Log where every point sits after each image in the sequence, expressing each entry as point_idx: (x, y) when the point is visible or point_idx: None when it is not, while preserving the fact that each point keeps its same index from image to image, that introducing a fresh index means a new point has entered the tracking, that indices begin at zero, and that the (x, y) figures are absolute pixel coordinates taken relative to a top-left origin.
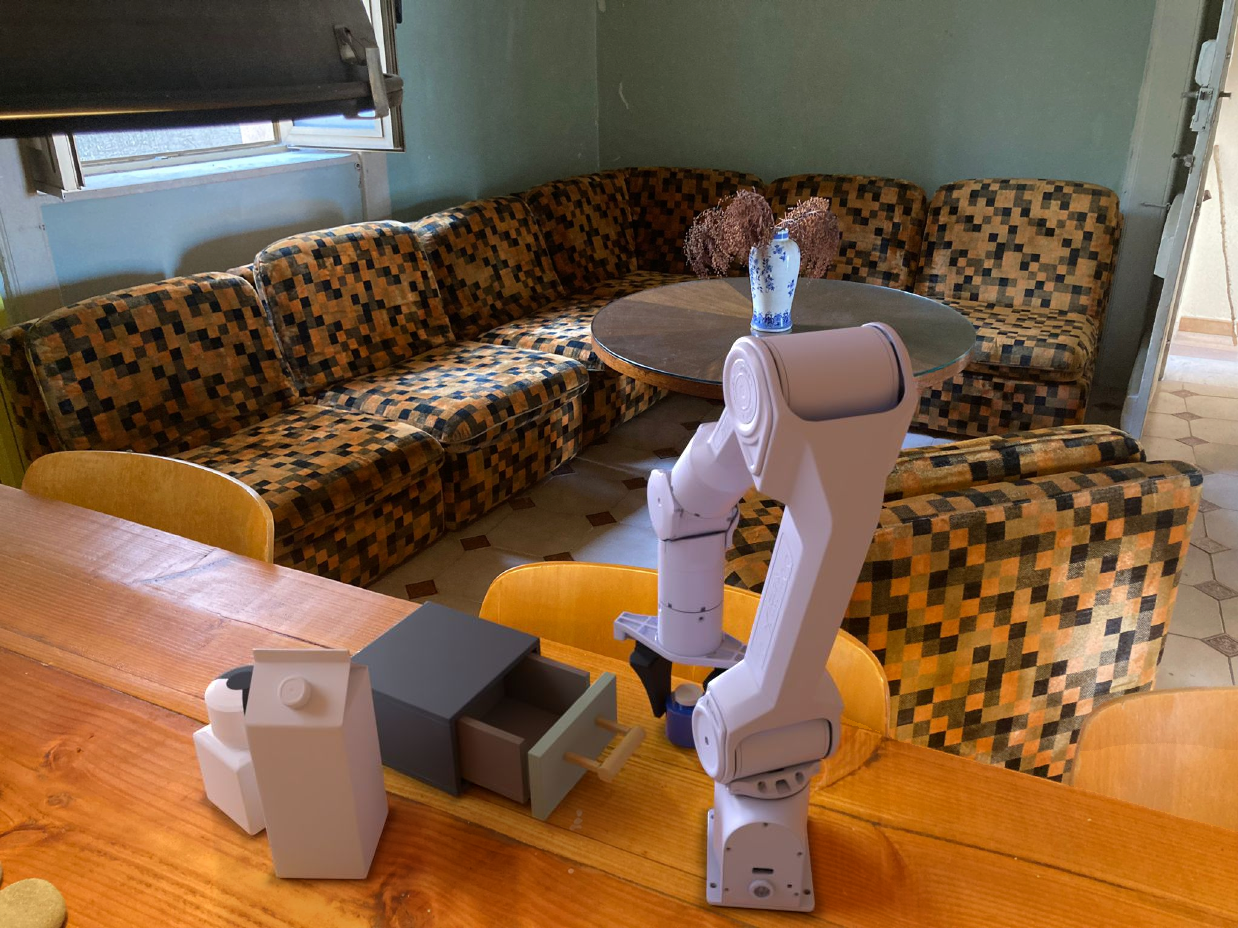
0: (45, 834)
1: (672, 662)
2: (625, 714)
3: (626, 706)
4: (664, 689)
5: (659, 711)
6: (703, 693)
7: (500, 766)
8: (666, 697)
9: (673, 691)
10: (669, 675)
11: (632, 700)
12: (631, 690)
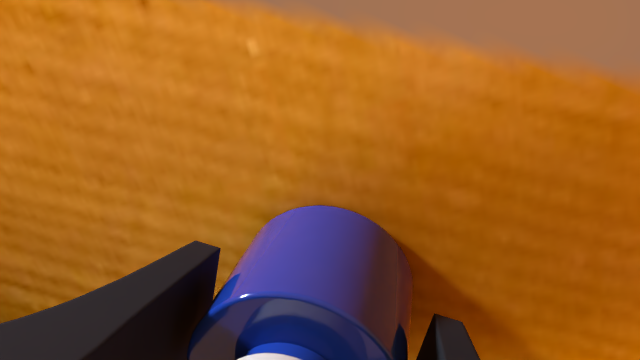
0: None
1: (88, 356)
2: (94, 222)
3: (77, 180)
4: (155, 353)
5: None
6: (348, 330)
7: None
8: (186, 308)
9: (200, 327)
10: (130, 334)
11: (79, 143)
12: (48, 83)
